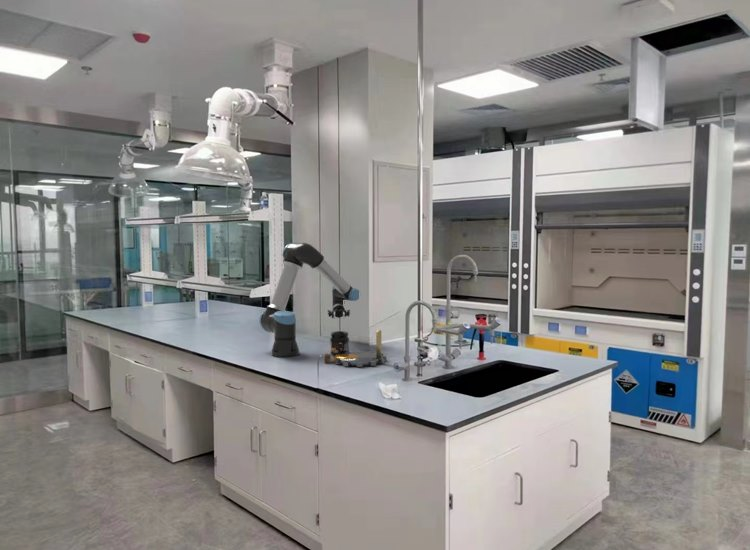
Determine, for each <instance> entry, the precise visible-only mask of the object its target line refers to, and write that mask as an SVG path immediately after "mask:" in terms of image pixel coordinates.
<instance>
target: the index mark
mask: <svg viewBox="0 0 750 550" xmlns="http://www.w3.org/2000/svg"><path fill="white" fill-rule="evenodd" d="M331 355H332V354H331V353H324V364H331V363H332V362H331V359H332V358H331Z"/></svg>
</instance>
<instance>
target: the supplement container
mask: <svg viewBox="0 0 750 550" xmlns="http://www.w3.org/2000/svg"><path fill="white" fill-rule="evenodd" d="M329 340H330V341H329V342H330V347H329V348H330V352H329V354H331V355H332V356H336V354H343V353H345V352H350V337H349V332H348V331H344V330H343V331H342V330H341V331H339V330H337V331H331V332H330V339H329Z"/></svg>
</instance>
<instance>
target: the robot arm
mask: <svg viewBox="0 0 750 550" xmlns="http://www.w3.org/2000/svg"><path fill="white" fill-rule="evenodd" d="M282 257H283V260H282V263H283V267H282V270H281V274H280V276H279V279H278V282H277V286H276V289H275V291H274V294H273V297H272V299H271V302H270V304H269V305H267V306H266V308H265V311H263V312H262V313H261V314H260V316H259V319H258V323H259V326H260V328H261V329H262V330H264V331H266V332H267V333H272V334H274V335H273V336H274V341H273V344H272V347H271V356H272V355H274V356H273V357H276V356H285V357H284V358H287V357H286V356H290V357H294V356H295V357H296V356H298V355H300V348H299V345H298V342H297V339H296V338H297V335H296V332H297V331H296V325H297V324H296V321H297V320H296V314H295V313H294V312H292V311H289V310H286V307H287V305H288V301H289V298H290V295H291V292H292V290H293V287H294V283H295V281H296V278H297V275H298V272H299V270H301V269H303V265H304V264H306V265H307V266H309V267H310V268H312V269H315V270H316V271H317V272H318V273H319V274H320V275H321V276H322V277H323V278H324V279H325V280H326V281H327V282H328V283H329V284H330V285H331V286H332V290H331V293H332V294H331V295H332V309H331V310H329V309H328V310H327V315H328V317H329V318H330V317H331V318H332V319H336V318H338V319H339V318H342V317H343V319H345V317H346V318H347V317H350V315H351V310H350V309H347V310H346V308H344V306H343V300H345V301H350V302H355V301H356V302H357V301H358V300H359V299H360V297H359V292H360V290H359V289H357V288H355V287H353V286H351V284H349V283H348V282H347V280H345V278H344V277H343V276H342V275H340V273H338V272H337V270H335V268H334V267H333V266H332V265H330V263H328V261H326V260H325V256H324V255H323V254H322V253H321V252H320V251H319V250H318V249H317V248H315V247H314V246H313V245H312V244H310V243H306V242H291V243H288V244H287V245H285V247H284V248H283V250H282Z"/></svg>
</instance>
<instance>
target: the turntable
mask: <svg viewBox="0 0 750 550" xmlns="http://www.w3.org/2000/svg"><path fill="white" fill-rule="evenodd" d="M375 332H376V334H375V335H376V339H375V340H376V342H375V344H376V345H375V346H376V349H375V350H376V352H375V351H371V350H370V351H363V350H358V351H349V352H345V353H343V354H336V356H335V355H332V362H334V364H335V365H342V366H343V367H351V366H353V367H357V368H362V367H365V366H370V367H373V366H377V365H378V364H380V365H381V364H385V361H386V362H387V355H384V353H383V352H382V330H379V329H377V330H376V331H375Z"/></svg>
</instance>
